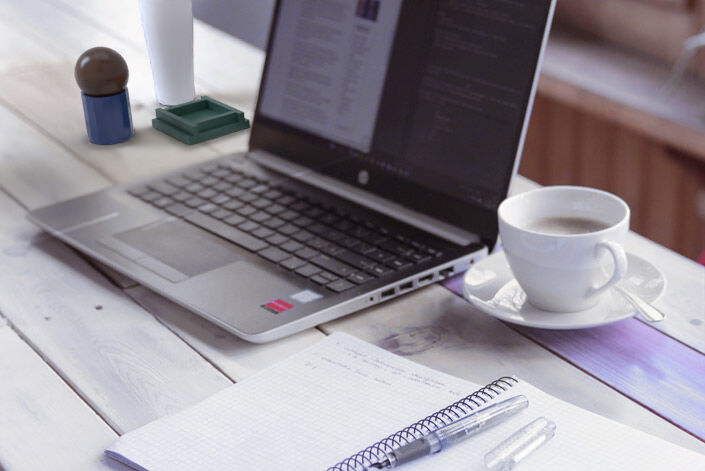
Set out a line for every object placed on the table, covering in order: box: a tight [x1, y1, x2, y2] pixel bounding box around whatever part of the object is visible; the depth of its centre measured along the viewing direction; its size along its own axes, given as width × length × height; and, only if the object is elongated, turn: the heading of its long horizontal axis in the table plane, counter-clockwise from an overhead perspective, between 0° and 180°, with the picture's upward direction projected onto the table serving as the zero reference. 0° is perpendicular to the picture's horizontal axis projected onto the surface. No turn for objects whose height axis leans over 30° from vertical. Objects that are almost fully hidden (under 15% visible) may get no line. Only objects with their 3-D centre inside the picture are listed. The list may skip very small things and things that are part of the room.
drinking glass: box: [138, 0, 196, 107], centre depth 127 cm, size 7×7×15 cm
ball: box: [73, 46, 130, 97], centre depth 115 cm, size 6×6×6 cm
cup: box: [80, 85, 135, 146], centre depth 117 cm, size 6×6×6 cm
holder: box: [151, 95, 251, 146], centre depth 121 cm, size 9×9×2 cm
